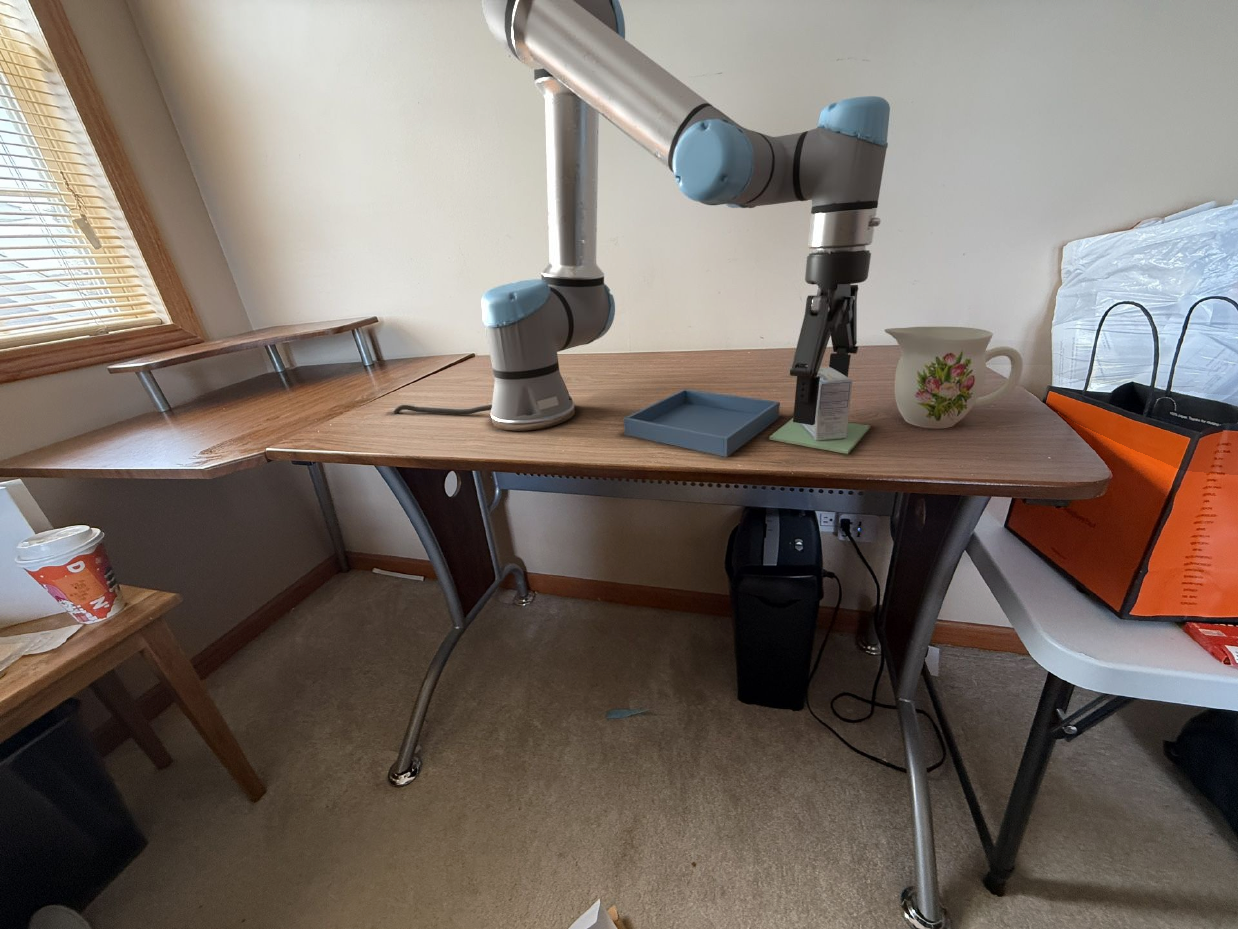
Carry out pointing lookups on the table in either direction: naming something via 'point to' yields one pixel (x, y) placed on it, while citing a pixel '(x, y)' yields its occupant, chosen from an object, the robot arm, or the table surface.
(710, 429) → the tray
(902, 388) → the pitcher
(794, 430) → the mat
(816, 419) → the medicine box
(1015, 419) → the table surface
